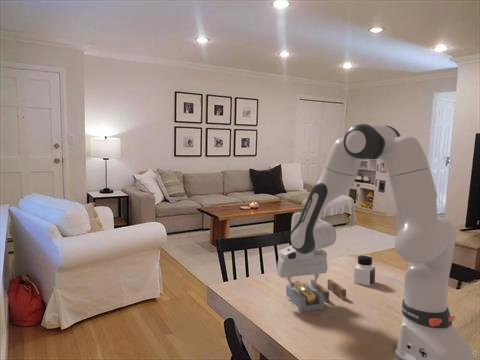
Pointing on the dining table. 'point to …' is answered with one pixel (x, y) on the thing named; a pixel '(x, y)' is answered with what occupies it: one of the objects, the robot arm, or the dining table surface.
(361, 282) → the medicine bottle
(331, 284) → the pair of brown bars
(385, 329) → the dining table surface
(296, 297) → the cradle
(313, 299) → the axle
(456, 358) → the robot arm
